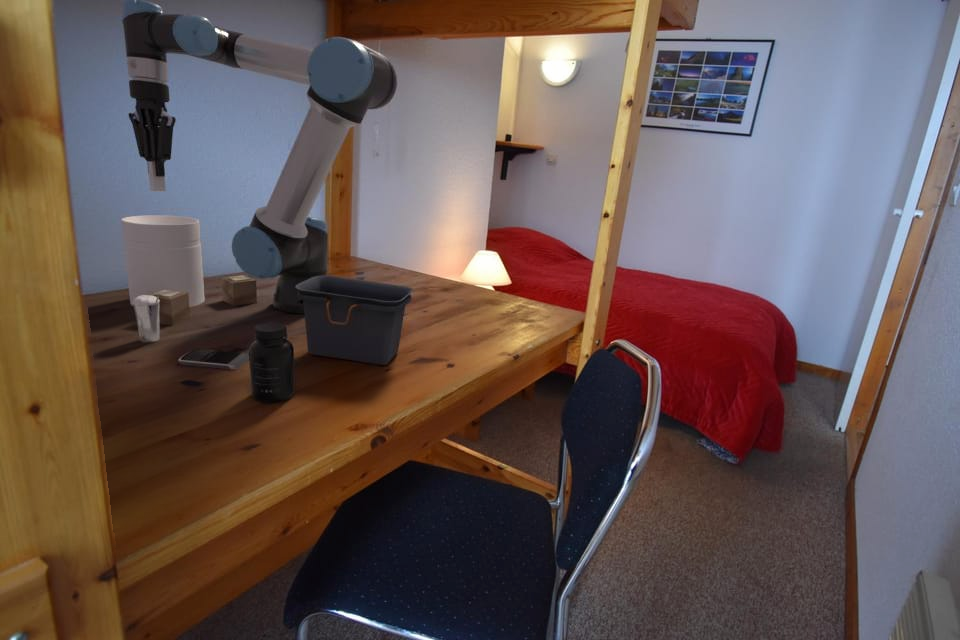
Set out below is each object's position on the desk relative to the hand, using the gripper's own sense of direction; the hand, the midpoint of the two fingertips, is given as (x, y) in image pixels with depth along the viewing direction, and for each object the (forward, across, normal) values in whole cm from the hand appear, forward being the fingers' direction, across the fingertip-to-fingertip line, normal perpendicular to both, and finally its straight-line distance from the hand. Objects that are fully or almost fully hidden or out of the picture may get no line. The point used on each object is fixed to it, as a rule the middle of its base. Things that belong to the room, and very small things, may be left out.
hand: (157, 190), depth 125 cm
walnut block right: (+27, +12, +11) cm, 32 cm away
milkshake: (+27, +22, -19) cm, 40 cm away
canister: (+27, 0, 0) cm, 27 cm away
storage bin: (+27, +58, -1) cm, 64 cm away
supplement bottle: (+27, +59, -23) cm, 69 cm away
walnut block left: (+27, +13, -9) cm, 31 cm away
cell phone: (+27, +40, -19) cm, 52 cm away
